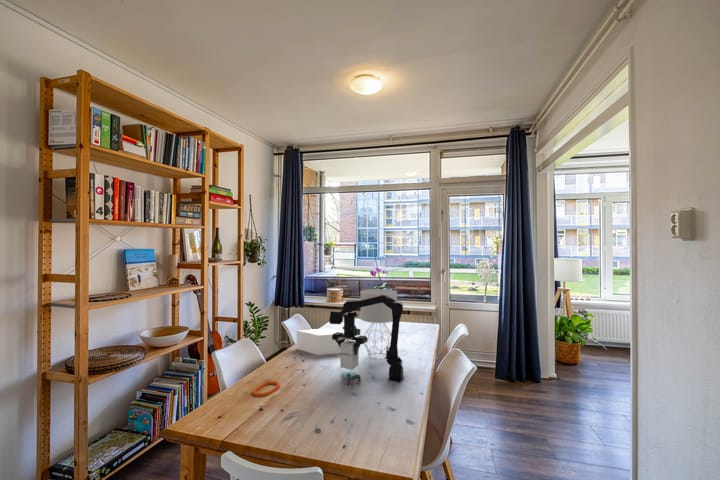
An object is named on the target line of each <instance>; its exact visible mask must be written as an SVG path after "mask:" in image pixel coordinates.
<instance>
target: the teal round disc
mask: <svg viewBox="0 0 720 480" xmlns="http://www.w3.org/2000/svg"><path fill="white" fill-rule="evenodd" d="M347 374H350V377H352V376H355V375H358V373H356V372H355V371H345V372H342V373H340V378H341V379H343V380H346V379H347Z"/></svg>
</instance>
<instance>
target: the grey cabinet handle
mask: <svg viewBox="0 0 720 480" xmlns="http://www.w3.org/2000/svg"><path fill="white" fill-rule="evenodd" d="M357 374H358V373H357ZM355 380H356V382H355V383H356V384H358V385H360V384H362V381H361V374H358V375H355V376H352V377H350V374H347V379H345V383H346V385H345V388H346V389H347V388H348V389H349V388H351V387H352V386H351V385H350V383H351V382H353V381H355Z"/></svg>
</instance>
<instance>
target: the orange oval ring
mask: <svg viewBox="0 0 720 480" xmlns="http://www.w3.org/2000/svg"><path fill="white" fill-rule="evenodd" d="M269 385H274V386H275V387H273V388H272V389H270V390H268V391H265V392H258V391H259V390H261V389H263V388H264V387H266V386H269ZM280 388H281V383H280V382H278V381H275V380H269V381H265V382H263V383H260V384H259V385H258V386H256V387H255V388H253V389H252V391H251V395H252V396H254V397H259V398H262V397H267V396H270V395H272V394H273V393H275V392H276V391H277V390H279V389H280Z"/></svg>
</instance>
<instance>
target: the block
mask: <svg viewBox="0 0 720 480" xmlns="http://www.w3.org/2000/svg"><path fill="white" fill-rule="evenodd" d="M336 332H342V333H343V334H344V331H341V330H336V329H332V328H327V327H325V328H317V329H316V328H312V329H298V330H296V349H297V350H300V351H303V352H306V353H310V354H314V355H316V356H322V355H323V356H324V355H330V354H331V355H333V354H340V347H339V345H338V343H337V342H336V341H335V340H333V339H332V335H333V334H334V333H336ZM346 340H348V339H345V341H346Z"/></svg>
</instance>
